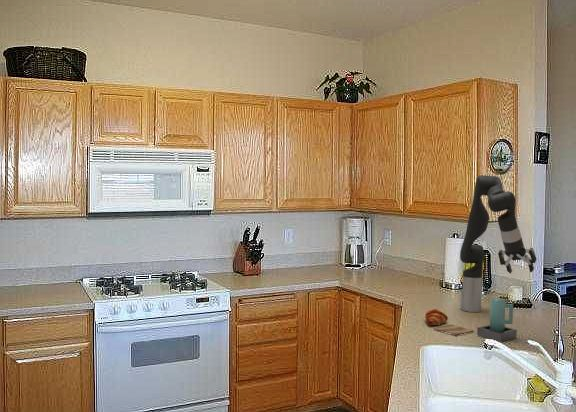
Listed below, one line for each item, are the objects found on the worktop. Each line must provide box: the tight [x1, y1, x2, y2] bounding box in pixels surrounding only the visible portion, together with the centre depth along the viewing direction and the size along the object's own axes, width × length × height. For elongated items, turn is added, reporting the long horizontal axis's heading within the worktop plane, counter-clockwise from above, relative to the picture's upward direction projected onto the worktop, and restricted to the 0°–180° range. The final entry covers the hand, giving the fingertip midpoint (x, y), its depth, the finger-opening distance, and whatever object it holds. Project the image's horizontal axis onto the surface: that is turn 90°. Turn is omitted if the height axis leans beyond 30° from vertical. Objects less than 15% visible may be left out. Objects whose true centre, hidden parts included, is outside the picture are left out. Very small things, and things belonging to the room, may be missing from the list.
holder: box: [476, 324, 518, 343], centre depth 238 cm, size 11×11×4 cm
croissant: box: [424, 308, 449, 326], centre depth 261 cm, size 21×10×8 cm, turn 154°
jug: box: [489, 297, 514, 332], centre depth 237 cm, size 9×6×16 cm, turn 82°
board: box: [433, 324, 475, 336], centre depth 246 cm, size 12×12×1 cm
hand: (521, 271), depth 237 cm, fingers open, 8 cm apart
